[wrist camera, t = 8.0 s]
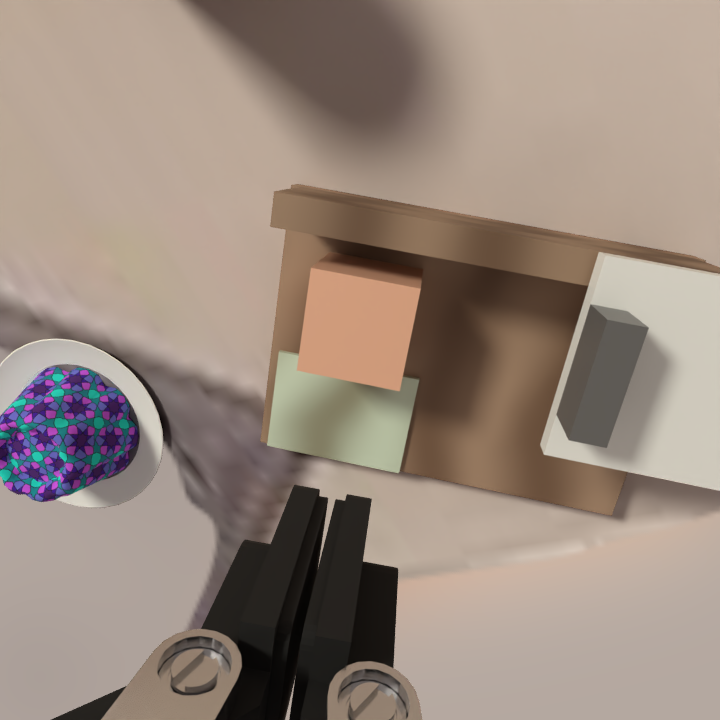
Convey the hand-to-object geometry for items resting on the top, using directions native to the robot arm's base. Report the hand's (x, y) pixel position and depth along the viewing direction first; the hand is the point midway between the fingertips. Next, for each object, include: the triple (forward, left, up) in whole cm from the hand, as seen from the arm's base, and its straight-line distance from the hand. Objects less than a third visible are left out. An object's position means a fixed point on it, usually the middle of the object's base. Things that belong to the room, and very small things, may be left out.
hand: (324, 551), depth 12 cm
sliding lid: (-12, -1, -15) cm, 19 cm away
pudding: (+19, +12, -22) cm, 32 cm away
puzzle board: (-4, +2, -22) cm, 22 cm away
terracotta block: (+1, 0, -20) cm, 20 cm away
